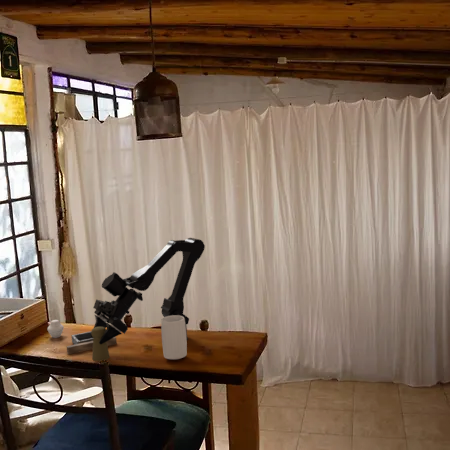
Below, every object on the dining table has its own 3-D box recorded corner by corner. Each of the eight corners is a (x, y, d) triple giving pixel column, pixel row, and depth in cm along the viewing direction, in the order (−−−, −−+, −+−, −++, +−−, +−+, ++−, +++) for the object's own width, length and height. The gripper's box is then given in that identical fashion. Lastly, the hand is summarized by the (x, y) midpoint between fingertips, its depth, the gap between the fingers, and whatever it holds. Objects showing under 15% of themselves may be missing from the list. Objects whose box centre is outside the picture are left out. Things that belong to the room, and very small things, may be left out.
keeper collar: (95, 336, 218) (95, 330, 217) (102, 343, 210) (101, 336, 209) (72, 341, 213) (71, 335, 213) (77, 348, 205) (77, 341, 205)
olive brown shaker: (105, 361, 192) (103, 330, 190) (89, 360, 193) (86, 330, 191) (112, 354, 197) (110, 324, 196) (96, 354, 199) (94, 324, 197)
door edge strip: (115, 342, 210) (114, 336, 210) (116, 343, 208) (116, 337, 208) (67, 352, 201) (66, 346, 201) (68, 354, 200) (67, 347, 199)
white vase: (62, 338, 217) (60, 321, 216) (46, 339, 217) (44, 322, 216) (66, 333, 223) (64, 316, 223) (50, 334, 223) (49, 317, 222)
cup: (174, 352, 197) (171, 313, 195) (192, 356, 192) (190, 316, 190) (158, 360, 190) (155, 320, 188) (176, 364, 185) (174, 323, 183)
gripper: (97, 286, 202) (70, 321, 198) (116, 296, 186) (87, 335, 182) (119, 303, 207) (93, 337, 203) (139, 314, 191) (111, 352, 187)
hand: (95, 340), depth 193 cm, fingers open, 8 cm apart
